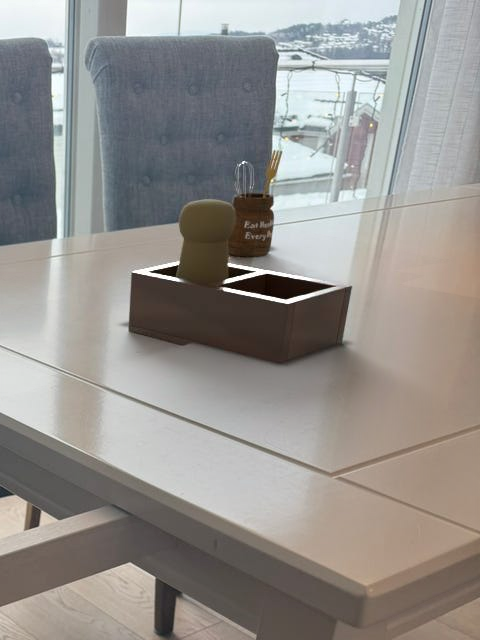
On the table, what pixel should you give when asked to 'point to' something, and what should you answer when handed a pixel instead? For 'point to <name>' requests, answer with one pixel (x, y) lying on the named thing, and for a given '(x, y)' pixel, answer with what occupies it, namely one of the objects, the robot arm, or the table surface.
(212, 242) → the cork
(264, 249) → the utensil holder
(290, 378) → the table surface
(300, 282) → the holder
